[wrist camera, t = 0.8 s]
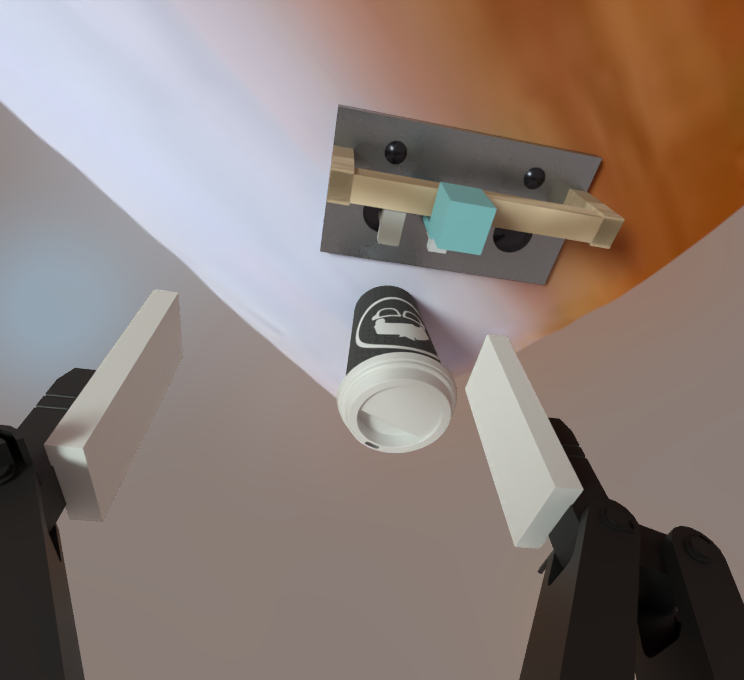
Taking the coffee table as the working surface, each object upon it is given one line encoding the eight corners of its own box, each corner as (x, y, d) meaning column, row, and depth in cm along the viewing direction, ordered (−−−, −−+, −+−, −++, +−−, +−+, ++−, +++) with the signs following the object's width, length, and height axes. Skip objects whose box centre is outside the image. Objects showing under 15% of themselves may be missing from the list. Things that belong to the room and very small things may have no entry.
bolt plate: (338, 104, 35) (338, 106, 34) (596, 155, 38) (602, 158, 37) (320, 246, 41) (320, 251, 41) (540, 280, 45) (544, 285, 44)
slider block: (426, 157, 36) (451, 200, 27) (461, 164, 36) (496, 208, 28) (410, 223, 39) (428, 280, 31) (443, 229, 40) (469, 286, 31)
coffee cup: (320, 302, 45) (310, 407, 33) (402, 253, 42) (425, 348, 30) (371, 363, 50) (379, 474, 38) (447, 323, 47) (482, 429, 35)
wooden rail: (333, 145, 35) (331, 167, 30) (586, 191, 39) (624, 219, 33) (325, 208, 38) (321, 238, 33) (561, 247, 41) (592, 280, 36)
